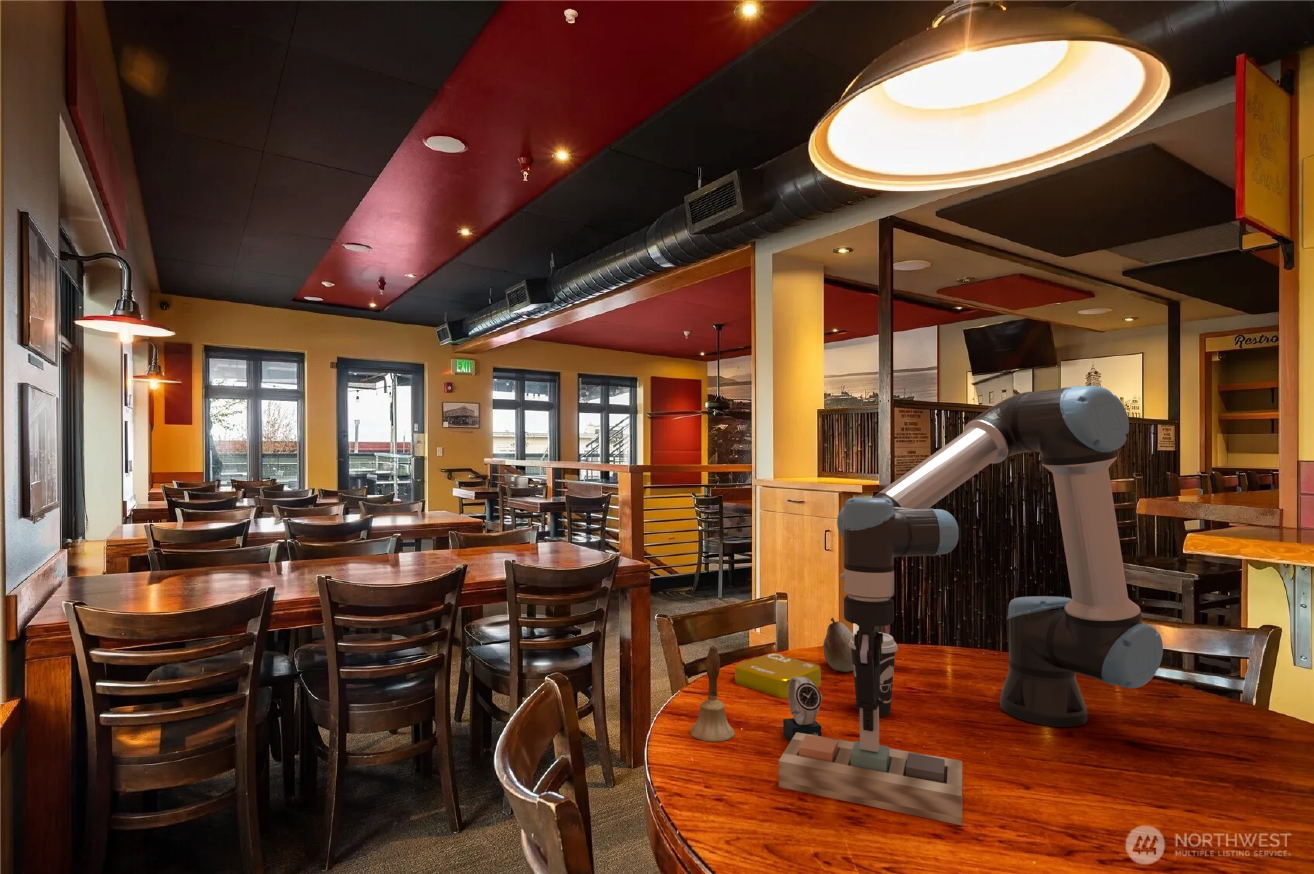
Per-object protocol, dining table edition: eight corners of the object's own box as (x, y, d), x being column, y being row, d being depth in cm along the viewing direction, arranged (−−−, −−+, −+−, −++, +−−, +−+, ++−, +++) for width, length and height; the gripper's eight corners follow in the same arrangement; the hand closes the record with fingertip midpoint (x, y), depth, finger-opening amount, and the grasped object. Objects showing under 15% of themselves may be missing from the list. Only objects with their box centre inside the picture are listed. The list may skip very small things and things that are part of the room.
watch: (797, 750, 116) (796, 687, 117) (779, 732, 124) (779, 672, 125) (826, 747, 118) (826, 684, 118) (807, 729, 125) (807, 670, 126)
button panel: (962, 786, 104) (962, 760, 104) (962, 825, 93) (961, 796, 93) (796, 755, 114) (796, 732, 115) (778, 786, 104) (778, 760, 104)
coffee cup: (891, 702, 139) (891, 630, 140) (904, 720, 130) (903, 643, 130) (845, 701, 140) (844, 629, 141) (854, 718, 131) (853, 641, 131)
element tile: (731, 684, 152) (731, 662, 153) (771, 669, 163) (771, 650, 163) (784, 701, 141) (784, 678, 142) (824, 685, 152) (824, 663, 152)
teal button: (889, 772, 105) (889, 746, 105) (886, 787, 100) (885, 760, 100) (855, 765, 107) (855, 740, 107) (850, 780, 102) (850, 753, 102)
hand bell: (735, 725, 128) (734, 641, 128) (733, 743, 119) (733, 654, 120) (692, 722, 129) (692, 639, 129) (687, 740, 121) (687, 651, 121)
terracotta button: (838, 765, 108) (837, 740, 108) (832, 779, 103) (832, 753, 104) (806, 759, 110) (805, 734, 111) (799, 772, 106) (798, 747, 106)
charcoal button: (945, 785, 101) (944, 759, 102) (944, 801, 97) (943, 773, 97) (908, 778, 104) (908, 752, 104) (906, 793, 99) (905, 766, 99)
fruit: (827, 660, 168) (826, 613, 169) (865, 665, 165) (865, 616, 165) (820, 672, 159) (819, 622, 159) (861, 677, 155) (860, 626, 156)
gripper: (850, 587, 112) (851, 729, 111) (836, 602, 100) (837, 760, 99) (897, 591, 109) (898, 737, 108) (889, 606, 97) (890, 771, 96)
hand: (869, 748), depth 104 cm, fingers closed
